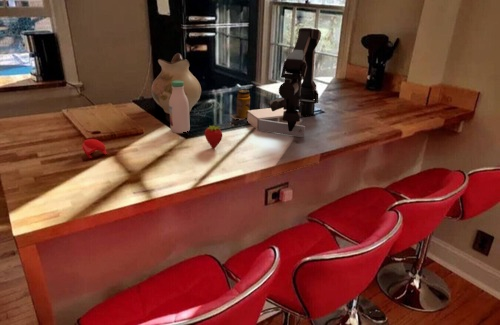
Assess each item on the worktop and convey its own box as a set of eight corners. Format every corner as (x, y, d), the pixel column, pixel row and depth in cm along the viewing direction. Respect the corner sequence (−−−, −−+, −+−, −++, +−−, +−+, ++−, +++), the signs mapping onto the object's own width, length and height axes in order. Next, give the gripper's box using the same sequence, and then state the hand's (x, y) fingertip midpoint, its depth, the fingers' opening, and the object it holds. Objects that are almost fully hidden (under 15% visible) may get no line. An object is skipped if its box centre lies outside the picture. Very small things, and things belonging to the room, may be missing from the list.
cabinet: (287, 116, 172) (288, 106, 170) (299, 124, 163) (300, 113, 161) (247, 121, 165) (247, 110, 163) (257, 129, 156) (258, 118, 153)
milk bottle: (193, 128, 155) (191, 80, 147) (184, 134, 148) (181, 84, 140) (176, 126, 157) (173, 78, 149) (167, 132, 151) (163, 82, 142)
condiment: (253, 117, 170) (254, 91, 165) (237, 120, 166) (237, 94, 160) (244, 113, 175) (245, 87, 170) (229, 116, 171) (229, 90, 166)
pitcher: (168, 121, 162) (165, 62, 152) (143, 108, 178) (138, 54, 168) (211, 112, 176) (210, 57, 165) (183, 101, 192) (181, 50, 181)
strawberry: (215, 143, 142) (215, 117, 137) (226, 149, 136) (226, 123, 132) (201, 146, 138) (200, 120, 134) (212, 153, 133) (211, 126, 129)
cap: (79, 152, 123) (94, 142, 123) (78, 140, 127) (93, 131, 127) (96, 165, 129) (110, 155, 129) (94, 153, 133) (108, 144, 133)
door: (304, 136, 149) (305, 125, 147) (302, 138, 147) (303, 127, 145) (257, 129, 155) (258, 118, 153) (256, 130, 154) (256, 120, 152)
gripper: (272, 84, 149) (270, 122, 156) (270, 97, 133) (268, 138, 139) (300, 86, 148) (297, 123, 155) (301, 99, 132) (298, 140, 138)
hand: (290, 131), depth 147 cm, fingers closed
